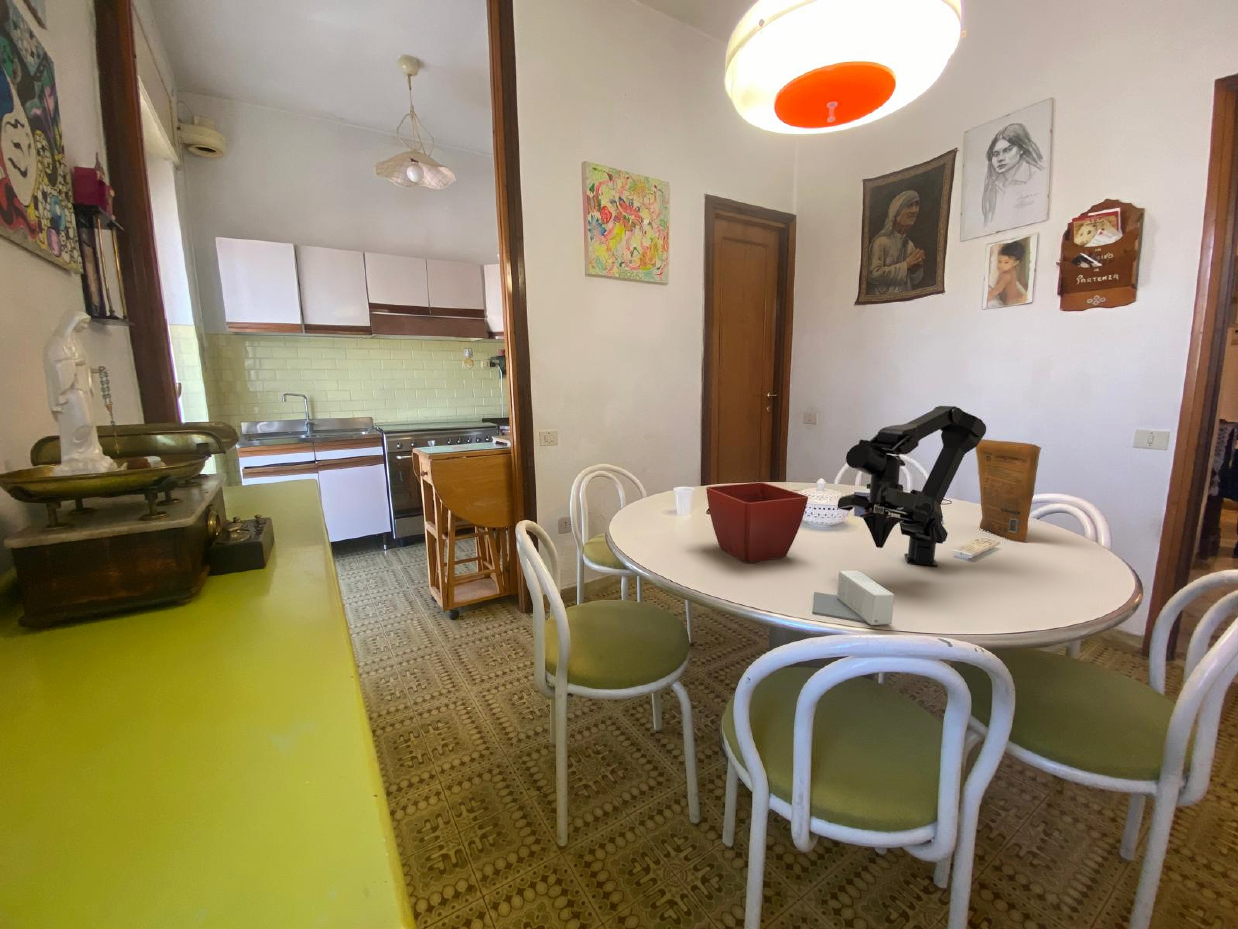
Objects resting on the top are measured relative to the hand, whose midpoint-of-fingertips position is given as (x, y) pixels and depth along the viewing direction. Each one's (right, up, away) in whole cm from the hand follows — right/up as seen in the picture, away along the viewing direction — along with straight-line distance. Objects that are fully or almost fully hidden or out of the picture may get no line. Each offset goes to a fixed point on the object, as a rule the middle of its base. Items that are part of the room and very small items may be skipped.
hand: (879, 547), depth 109 cm
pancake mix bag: (+55, -2, +37) cm, 66 cm away
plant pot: (-22, -5, +21) cm, 31 cm away
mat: (-13, -10, -11) cm, 20 cm away
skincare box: (-11, -6, -7) cm, 14 cm away
